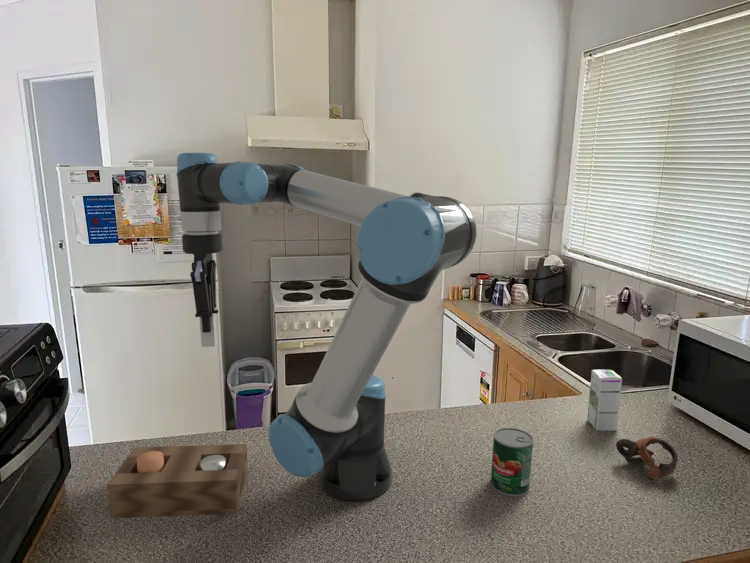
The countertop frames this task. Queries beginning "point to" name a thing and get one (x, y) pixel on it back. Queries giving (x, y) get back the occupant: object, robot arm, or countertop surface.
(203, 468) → the grey rounded piece
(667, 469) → the brown double ring
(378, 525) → the countertop surface
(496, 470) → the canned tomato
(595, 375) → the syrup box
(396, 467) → the countertop surface
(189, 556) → the countertop surface
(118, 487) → the brown wooden block
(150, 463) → the tan rounded piece
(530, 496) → the countertop surface
